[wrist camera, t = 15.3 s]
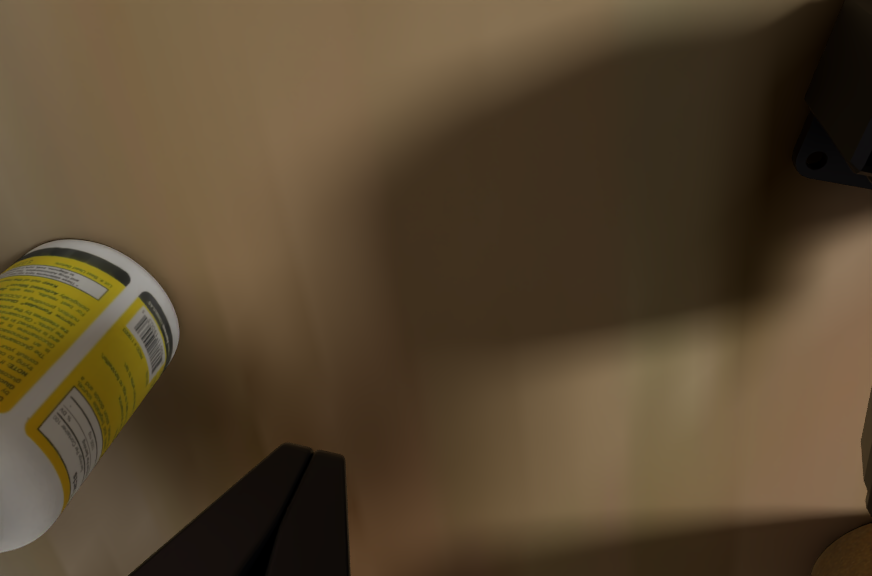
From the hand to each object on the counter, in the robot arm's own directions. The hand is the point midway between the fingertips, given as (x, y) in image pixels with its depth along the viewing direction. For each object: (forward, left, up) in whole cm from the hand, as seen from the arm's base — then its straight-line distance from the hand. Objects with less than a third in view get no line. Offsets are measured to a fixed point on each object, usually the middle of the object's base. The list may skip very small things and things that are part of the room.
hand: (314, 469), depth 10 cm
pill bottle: (+12, +9, -13) cm, 20 cm away
